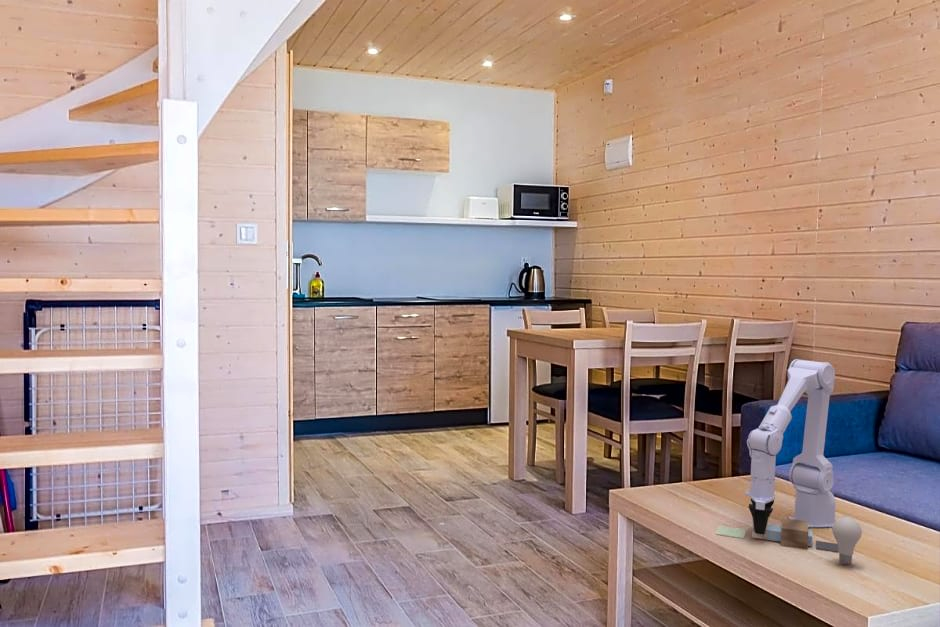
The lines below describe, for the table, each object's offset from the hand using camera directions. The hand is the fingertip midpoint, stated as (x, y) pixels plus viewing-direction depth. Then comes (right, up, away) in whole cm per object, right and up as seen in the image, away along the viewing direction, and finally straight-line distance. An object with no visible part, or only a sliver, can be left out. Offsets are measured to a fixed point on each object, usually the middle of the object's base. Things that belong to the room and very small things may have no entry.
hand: (760, 530), depth 194 cm
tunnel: (+7, -2, -3) cm, 8 cm away
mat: (-6, -1, +3) cm, 7 cm away
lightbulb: (+13, -3, -18) cm, 22 cm away
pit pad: (+15, -2, -6) cm, 16 cm away
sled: (+5, -1, -2) cm, 5 cm away
